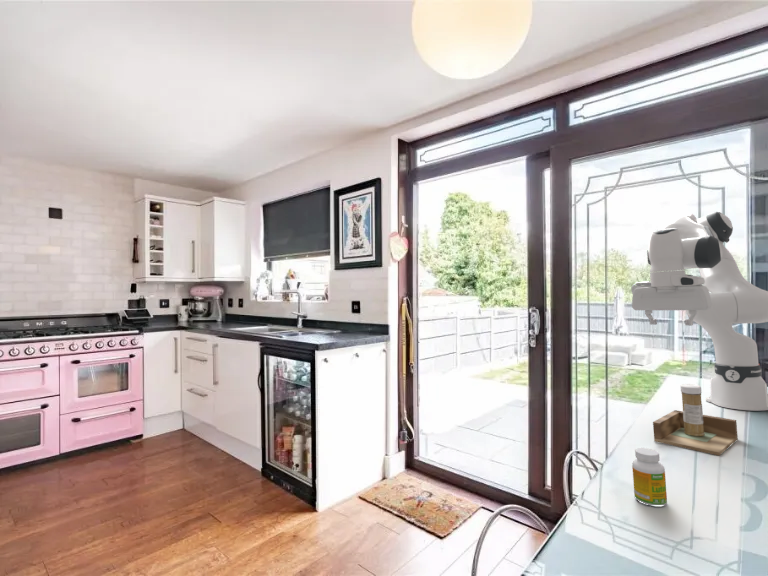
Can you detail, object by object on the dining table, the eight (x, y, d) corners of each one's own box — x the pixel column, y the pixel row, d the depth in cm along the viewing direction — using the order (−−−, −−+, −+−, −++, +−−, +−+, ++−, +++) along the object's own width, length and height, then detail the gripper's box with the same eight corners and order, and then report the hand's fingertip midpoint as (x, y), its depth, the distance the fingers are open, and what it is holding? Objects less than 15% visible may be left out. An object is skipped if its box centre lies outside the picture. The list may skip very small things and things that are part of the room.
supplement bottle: (655, 510, 75) (651, 458, 75) (628, 498, 80) (624, 449, 80) (673, 503, 77) (669, 453, 78) (645, 492, 82) (642, 444, 82)
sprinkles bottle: (688, 430, 113) (684, 382, 114) (707, 434, 109) (703, 385, 110) (681, 433, 111) (677, 385, 111) (700, 438, 107) (696, 387, 107)
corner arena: (676, 427, 118) (675, 410, 118) (737, 439, 107) (736, 420, 107) (654, 441, 109) (652, 422, 109) (719, 455, 98) (717, 434, 98)
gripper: (626, 282, 130) (629, 325, 130) (704, 278, 114) (708, 327, 114) (635, 282, 134) (638, 323, 134) (711, 278, 117) (714, 324, 117)
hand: (670, 325), depth 124 cm, fingers open, 8 cm apart
